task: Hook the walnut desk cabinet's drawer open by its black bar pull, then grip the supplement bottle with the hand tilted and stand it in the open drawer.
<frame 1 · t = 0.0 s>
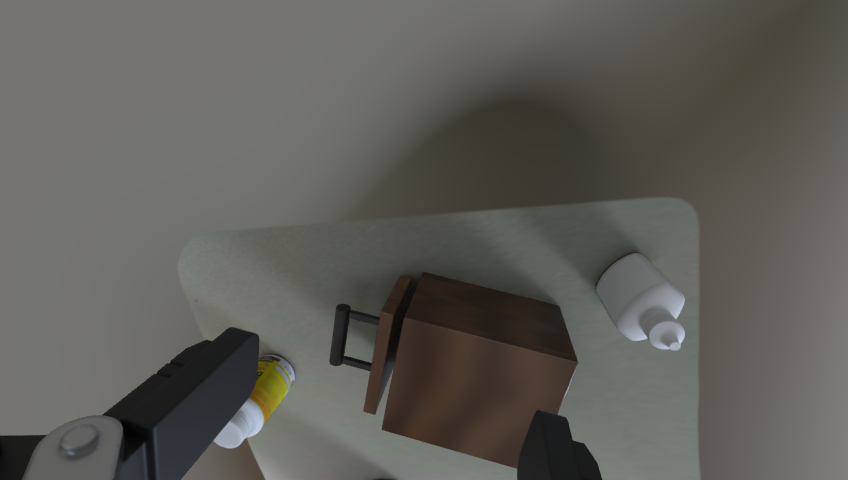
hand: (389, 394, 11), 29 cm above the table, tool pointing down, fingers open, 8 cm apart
cabinet: (476, 338, 43), on the table
drawer: (423, 351, 39), point 5 cm above the table, slide at 1.0 cm
eye dropper bottle: (621, 275, 39), on the table
supplement bottle: (276, 370, 50), on the table
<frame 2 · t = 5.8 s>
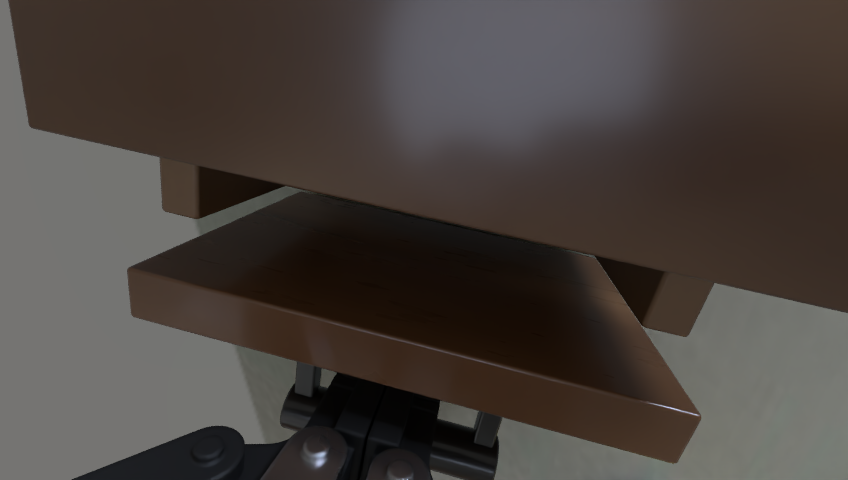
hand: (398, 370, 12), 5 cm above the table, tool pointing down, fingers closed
drawer: (448, 151, 10), point 5 cm above the table, slide at 2.7 cm, touching gripper
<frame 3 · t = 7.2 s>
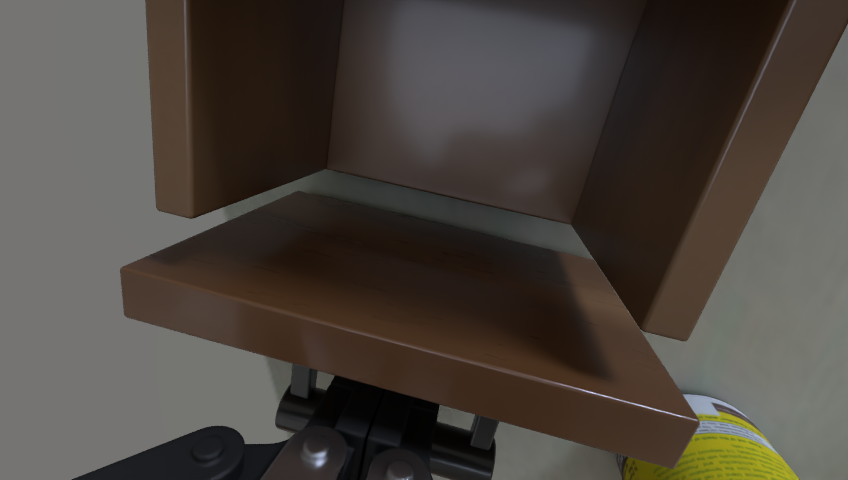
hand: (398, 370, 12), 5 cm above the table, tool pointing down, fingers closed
drawer: (446, 152, 10), point 5 cm above the table, slide at 8.3 cm, touching gripper
supplement bottle: (677, 436, 17), on the table
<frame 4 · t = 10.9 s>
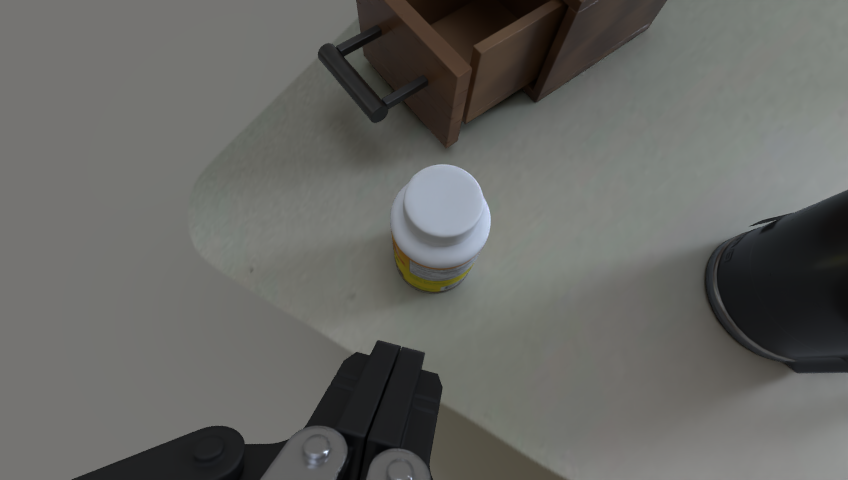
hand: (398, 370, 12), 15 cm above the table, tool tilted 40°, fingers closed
cabinet: (546, 20, 37), on the table
drawer: (448, 38, 30), point 5 cm above the table, slide at 8.3 cm
supplement bottle: (432, 259, 29), on the table
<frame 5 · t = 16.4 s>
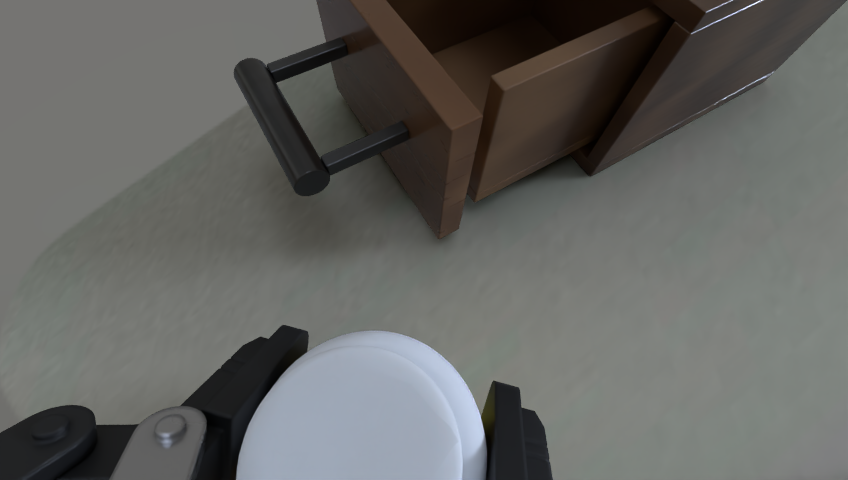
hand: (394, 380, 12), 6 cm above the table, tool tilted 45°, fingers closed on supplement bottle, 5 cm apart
cabinet: (611, 60, 26), on the table
drawer: (457, 68, 18), point 5 cm above the table, slide at 8.3 cm
supplement bottle: (389, 438, 16), on the table, touching gripper
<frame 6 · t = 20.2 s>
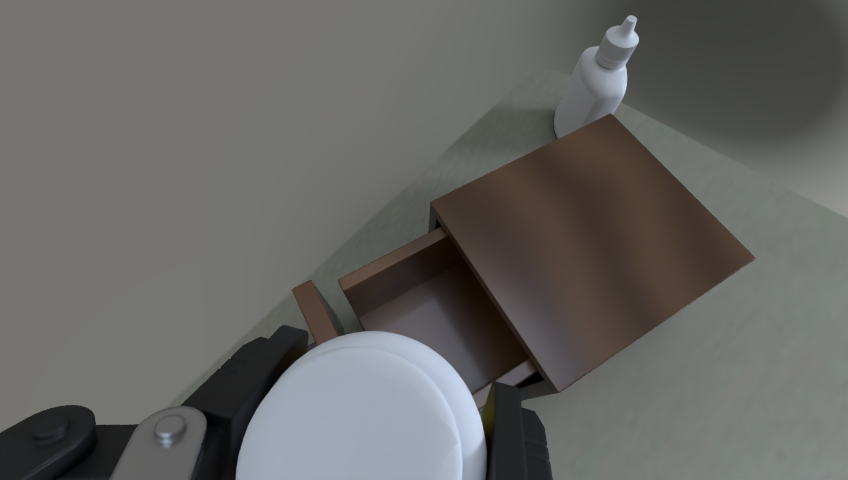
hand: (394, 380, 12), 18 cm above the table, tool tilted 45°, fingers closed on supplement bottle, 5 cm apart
cabinet: (542, 281, 32), on the table
drawer: (406, 350, 25), point 5 cm above the table, slide at 8.3 cm
eye dropper bottle: (570, 133, 39), on the table
supplement bottle: (389, 439, 16), point 12 cm above the table, touching gripper
when the fingers open (8 cm above the table, at t = 24.6 s): supplement bottle stays where it is, resting on drawer.
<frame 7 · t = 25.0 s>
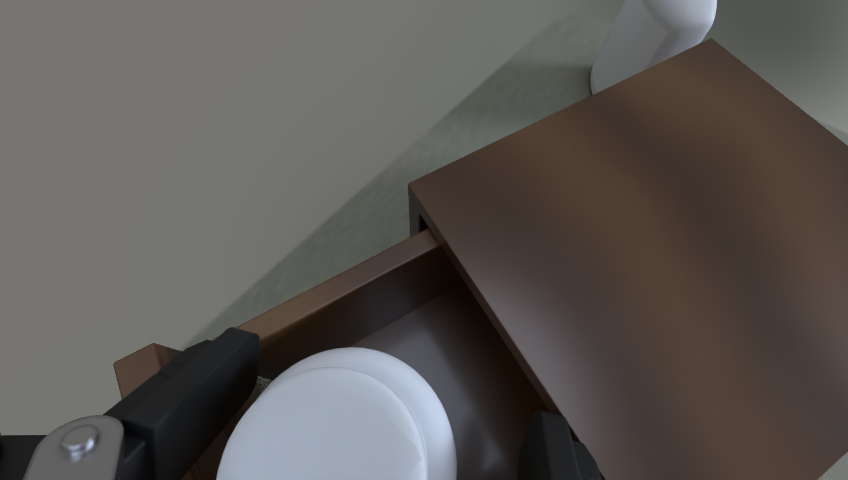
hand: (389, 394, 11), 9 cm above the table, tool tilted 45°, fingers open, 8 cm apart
cabinet: (585, 309, 21), on the table
drawer: (351, 458, 14), point 5 cm above the table, slide at 9.0 cm, touching supplement bottle
eye dropper bottle: (613, 97, 28), on the table
supplement bottle: (375, 444, 17), point 2 cm above the table, touching drawer
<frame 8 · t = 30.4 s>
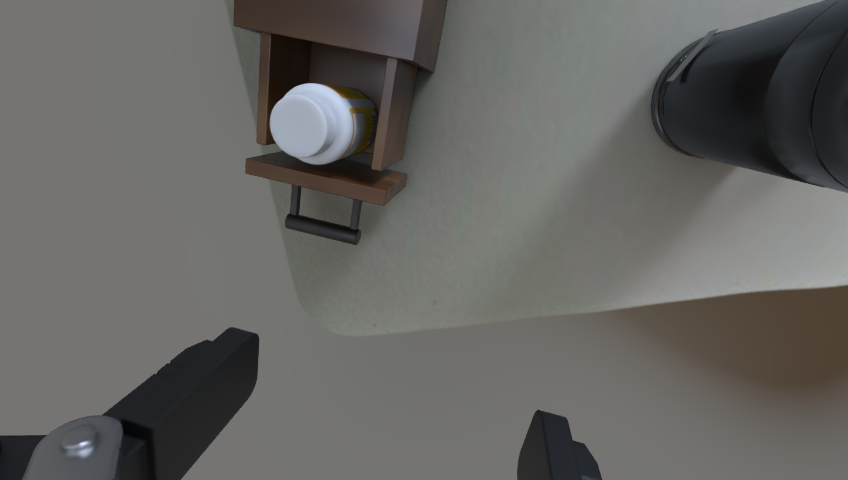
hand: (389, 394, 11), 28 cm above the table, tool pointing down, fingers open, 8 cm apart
drawer: (338, 130, 32), point 5 cm above the table, slide at 9.0 cm, touching supplement bottle
supplement bottle: (351, 121, 35), point 2 cm above the table, touching drawer
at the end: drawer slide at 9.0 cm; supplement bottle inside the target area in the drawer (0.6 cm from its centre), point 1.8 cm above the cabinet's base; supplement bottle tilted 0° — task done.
